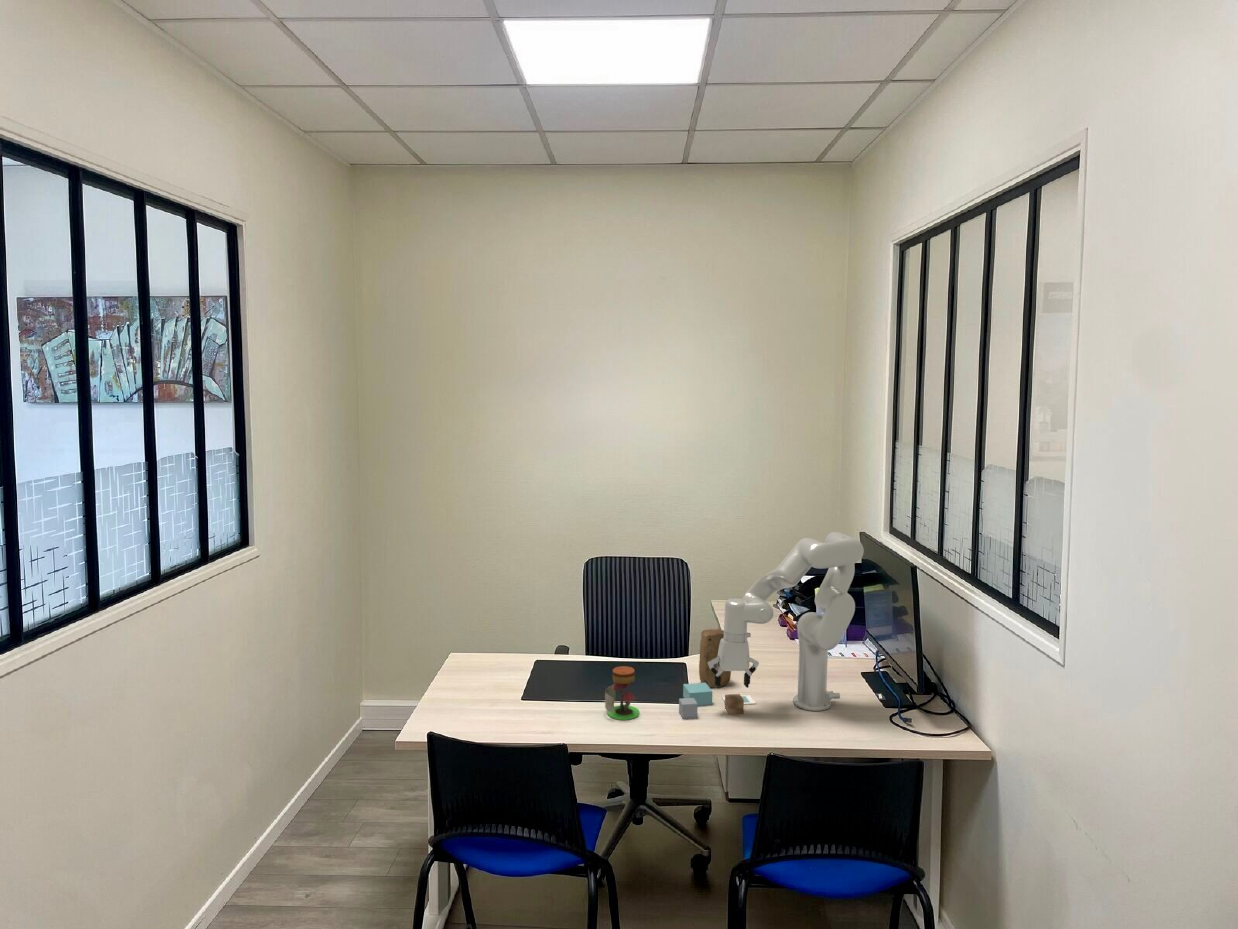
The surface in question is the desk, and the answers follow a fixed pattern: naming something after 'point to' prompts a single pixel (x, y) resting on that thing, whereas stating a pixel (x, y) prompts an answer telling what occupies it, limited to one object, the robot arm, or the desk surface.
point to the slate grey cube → (688, 708)
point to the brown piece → (711, 657)
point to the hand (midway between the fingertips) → (732, 686)
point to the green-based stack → (621, 681)
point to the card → (745, 699)
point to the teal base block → (698, 693)
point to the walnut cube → (734, 704)
